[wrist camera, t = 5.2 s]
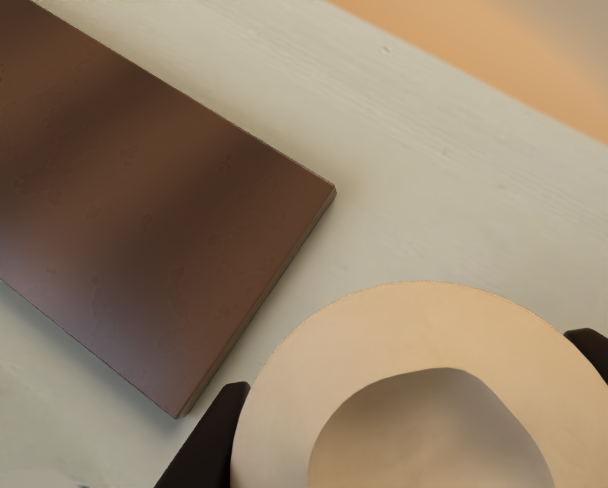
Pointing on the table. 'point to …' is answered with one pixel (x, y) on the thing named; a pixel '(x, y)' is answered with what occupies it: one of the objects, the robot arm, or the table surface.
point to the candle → (423, 398)
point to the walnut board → (137, 208)
